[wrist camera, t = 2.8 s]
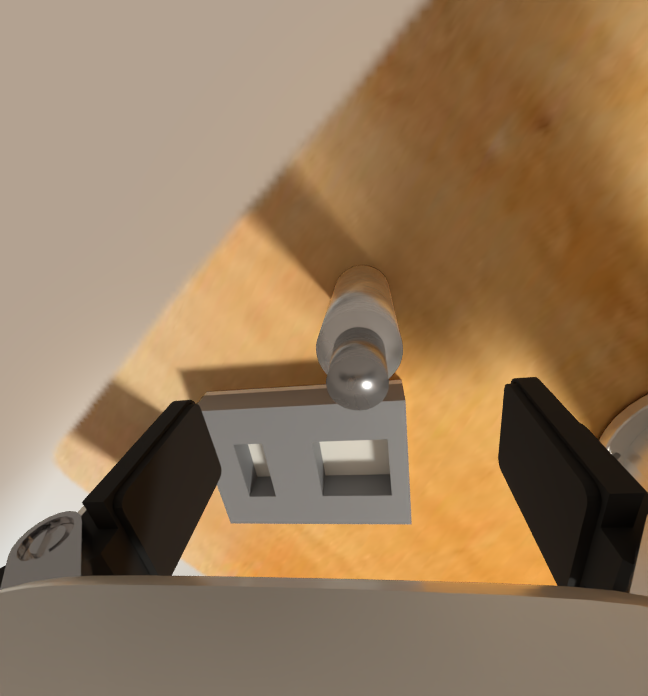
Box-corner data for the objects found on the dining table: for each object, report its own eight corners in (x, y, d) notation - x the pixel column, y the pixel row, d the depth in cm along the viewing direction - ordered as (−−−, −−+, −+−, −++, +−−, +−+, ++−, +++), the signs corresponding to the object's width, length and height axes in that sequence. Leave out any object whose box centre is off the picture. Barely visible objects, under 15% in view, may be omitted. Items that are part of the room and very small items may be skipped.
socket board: (401, 379, 27) (405, 400, 24) (407, 496, 32) (411, 524, 30) (206, 391, 30) (190, 411, 27) (241, 497, 35) (230, 523, 32)
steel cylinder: (387, 261, 23) (408, 331, 12) (391, 315, 25) (412, 424, 13) (331, 268, 24) (297, 341, 12) (338, 320, 26) (313, 428, 14)
